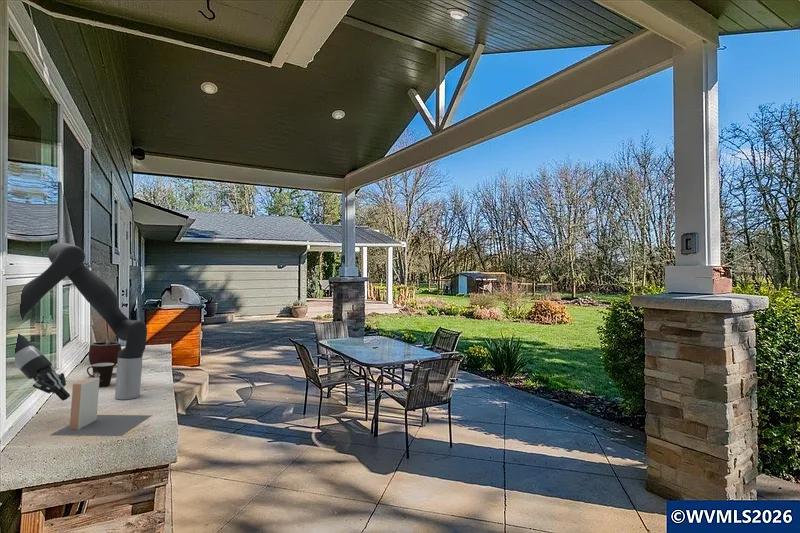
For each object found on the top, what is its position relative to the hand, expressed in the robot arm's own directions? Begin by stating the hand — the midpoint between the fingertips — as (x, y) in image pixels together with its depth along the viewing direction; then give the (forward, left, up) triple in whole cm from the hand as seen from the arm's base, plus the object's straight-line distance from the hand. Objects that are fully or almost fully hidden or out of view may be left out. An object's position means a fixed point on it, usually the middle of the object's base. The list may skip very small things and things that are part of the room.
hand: (66, 398), depth 151 cm
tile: (0, +6, -9) cm, 11 cm away
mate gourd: (-76, -28, -10) cm, 82 cm away
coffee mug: (-58, -20, -10) cm, 62 cm away
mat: (0, +13, -9) cm, 16 cm away
